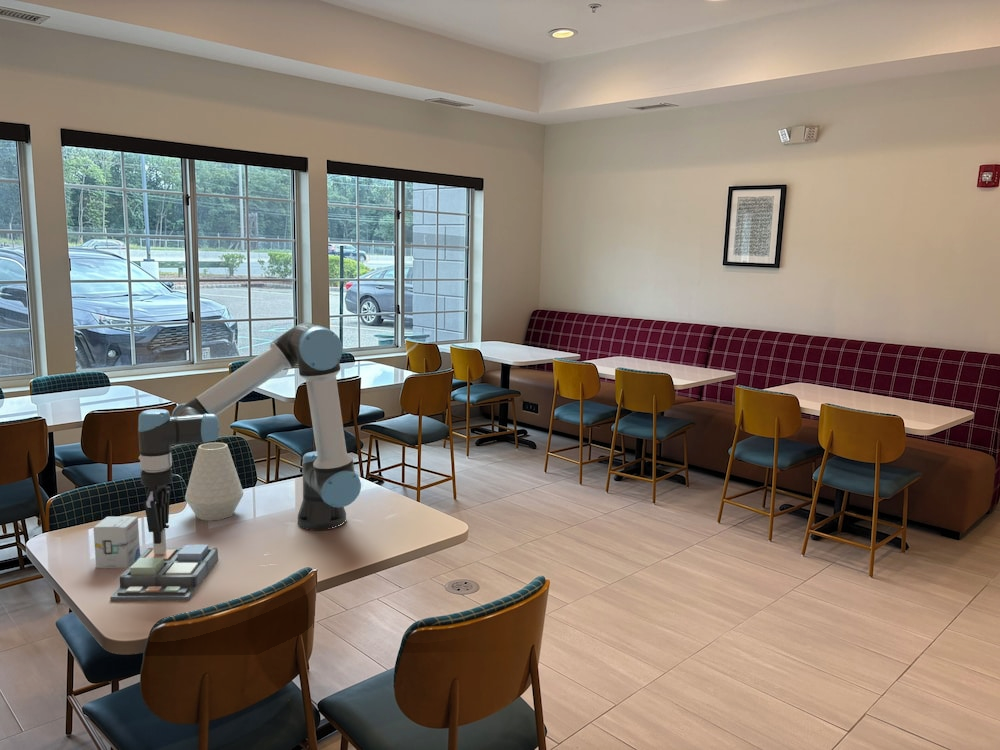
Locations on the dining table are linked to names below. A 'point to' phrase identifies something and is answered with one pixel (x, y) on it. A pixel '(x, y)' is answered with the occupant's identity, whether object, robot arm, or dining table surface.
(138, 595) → the keypad
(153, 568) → the key sage
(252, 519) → the dining table surface
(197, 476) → the vase
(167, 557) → the key terracotta
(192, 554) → the key slate
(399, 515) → the dining table surface
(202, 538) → the dining table surface
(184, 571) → the key cream
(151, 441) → the robot arm
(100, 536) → the ink box
